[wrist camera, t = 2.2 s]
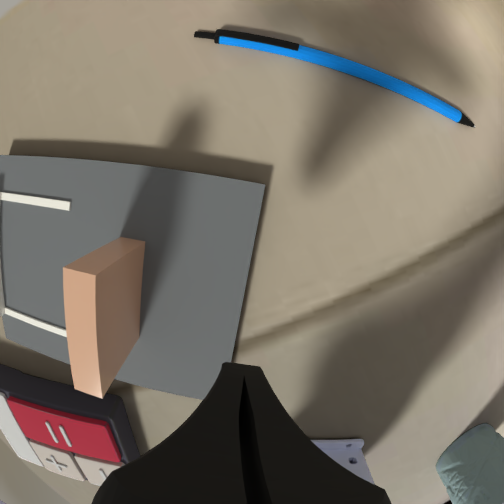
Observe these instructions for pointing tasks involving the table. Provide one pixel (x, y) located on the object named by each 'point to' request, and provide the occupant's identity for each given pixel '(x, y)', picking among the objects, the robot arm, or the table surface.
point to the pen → (335, 67)
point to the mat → (154, 266)
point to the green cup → (474, 467)
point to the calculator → (64, 427)
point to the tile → (102, 312)
